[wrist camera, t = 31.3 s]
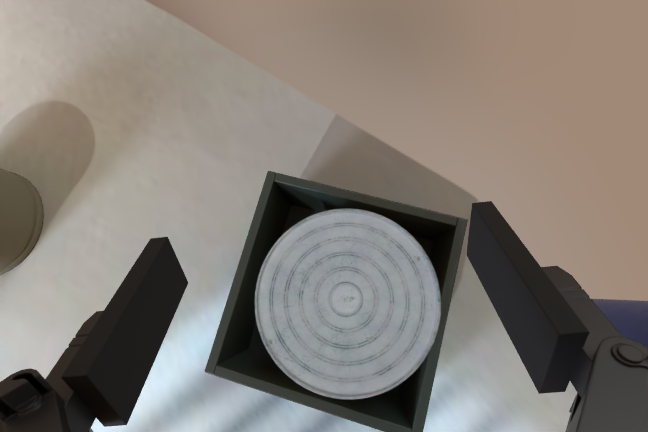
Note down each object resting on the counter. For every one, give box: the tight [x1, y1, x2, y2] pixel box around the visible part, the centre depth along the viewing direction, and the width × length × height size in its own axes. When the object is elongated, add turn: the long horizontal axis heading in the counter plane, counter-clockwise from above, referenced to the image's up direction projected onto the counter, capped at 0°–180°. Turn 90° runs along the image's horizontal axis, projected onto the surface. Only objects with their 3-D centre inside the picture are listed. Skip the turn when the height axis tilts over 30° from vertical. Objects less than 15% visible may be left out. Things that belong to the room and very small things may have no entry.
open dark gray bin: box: [205, 171, 468, 432], centre depth 30 cm, size 15×15×9 cm
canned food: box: [255, 208, 441, 399], centre depth 28 cm, size 11×11×12 cm
